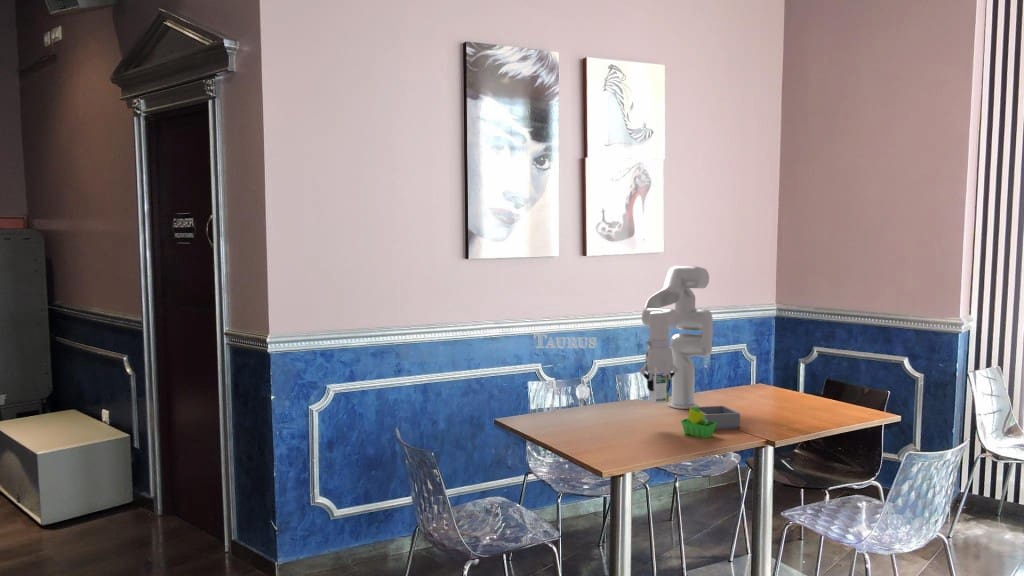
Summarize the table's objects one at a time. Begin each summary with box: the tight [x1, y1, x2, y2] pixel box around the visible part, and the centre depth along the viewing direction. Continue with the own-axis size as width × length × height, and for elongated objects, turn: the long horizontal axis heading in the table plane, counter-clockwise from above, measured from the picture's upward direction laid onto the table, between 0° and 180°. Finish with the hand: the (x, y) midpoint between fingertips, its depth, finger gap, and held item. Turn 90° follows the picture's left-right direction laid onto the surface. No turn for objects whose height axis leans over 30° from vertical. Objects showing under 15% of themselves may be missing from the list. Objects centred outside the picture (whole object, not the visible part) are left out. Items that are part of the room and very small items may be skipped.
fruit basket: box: [680, 406, 717, 439], centre depth 296 cm, size 11×9×11 cm
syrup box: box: [648, 367, 670, 404], centre depth 307 cm, size 6×6×14 cm
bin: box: [689, 405, 741, 431], centre depth 311 cm, size 14×14×6 cm
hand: (658, 389), depth 308 cm, fingers closed on syrup box, 6 cm apart
